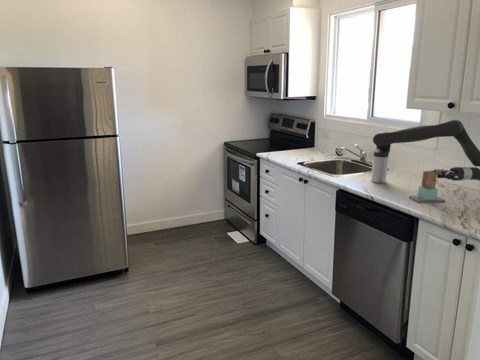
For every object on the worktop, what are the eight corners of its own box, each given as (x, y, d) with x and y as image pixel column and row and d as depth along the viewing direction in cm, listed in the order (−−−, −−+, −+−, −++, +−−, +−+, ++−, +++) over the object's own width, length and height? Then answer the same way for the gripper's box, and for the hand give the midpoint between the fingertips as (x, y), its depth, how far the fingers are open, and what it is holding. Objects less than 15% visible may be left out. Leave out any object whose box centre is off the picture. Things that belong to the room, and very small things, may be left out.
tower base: (409, 198, 223) (410, 185, 221) (435, 197, 225) (437, 185, 223) (417, 202, 214) (419, 190, 213) (444, 201, 216) (446, 189, 214)
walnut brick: (421, 186, 220) (423, 171, 218) (429, 186, 220) (431, 170, 218) (426, 188, 215) (428, 173, 213) (435, 188, 216) (437, 172, 213)
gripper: (453, 164, 223) (426, 165, 222) (469, 169, 210) (441, 170, 208) (451, 177, 225) (425, 177, 224) (468, 183, 211) (439, 184, 210)
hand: (433, 174), depth 216 cm, fingers open, 8 cm apart
